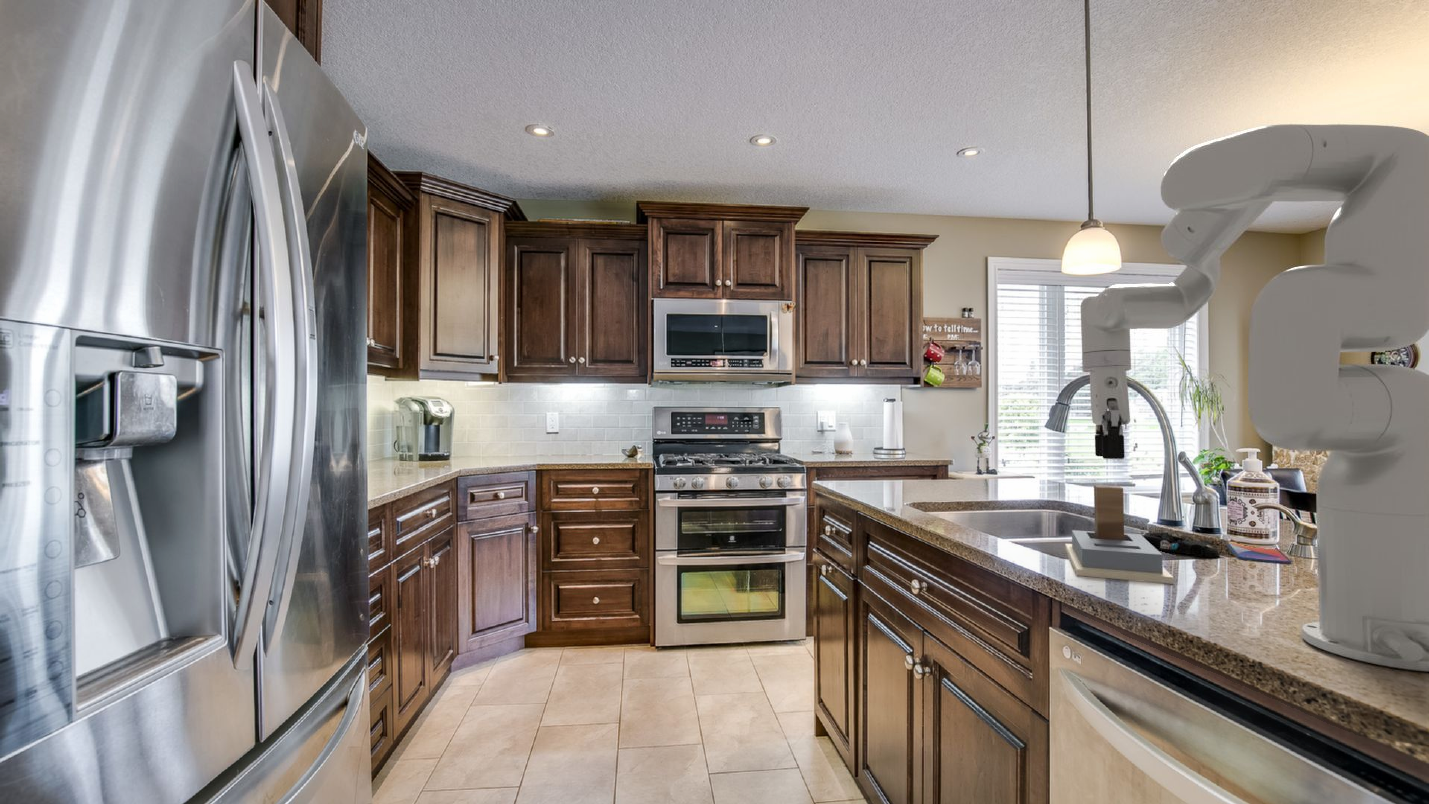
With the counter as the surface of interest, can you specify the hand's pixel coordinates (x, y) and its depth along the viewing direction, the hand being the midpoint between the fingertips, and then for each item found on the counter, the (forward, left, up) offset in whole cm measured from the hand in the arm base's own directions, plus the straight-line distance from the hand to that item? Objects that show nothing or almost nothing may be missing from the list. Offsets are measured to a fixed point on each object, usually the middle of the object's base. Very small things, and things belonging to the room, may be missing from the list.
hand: (1109, 457), depth 114 cm
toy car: (+12, -13, -19) cm, 26 cm away
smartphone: (+16, -25, -19) cm, 35 cm away
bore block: (-4, 0, -18) cm, 19 cm away
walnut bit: (0, 0, -17) cm, 17 cm away
